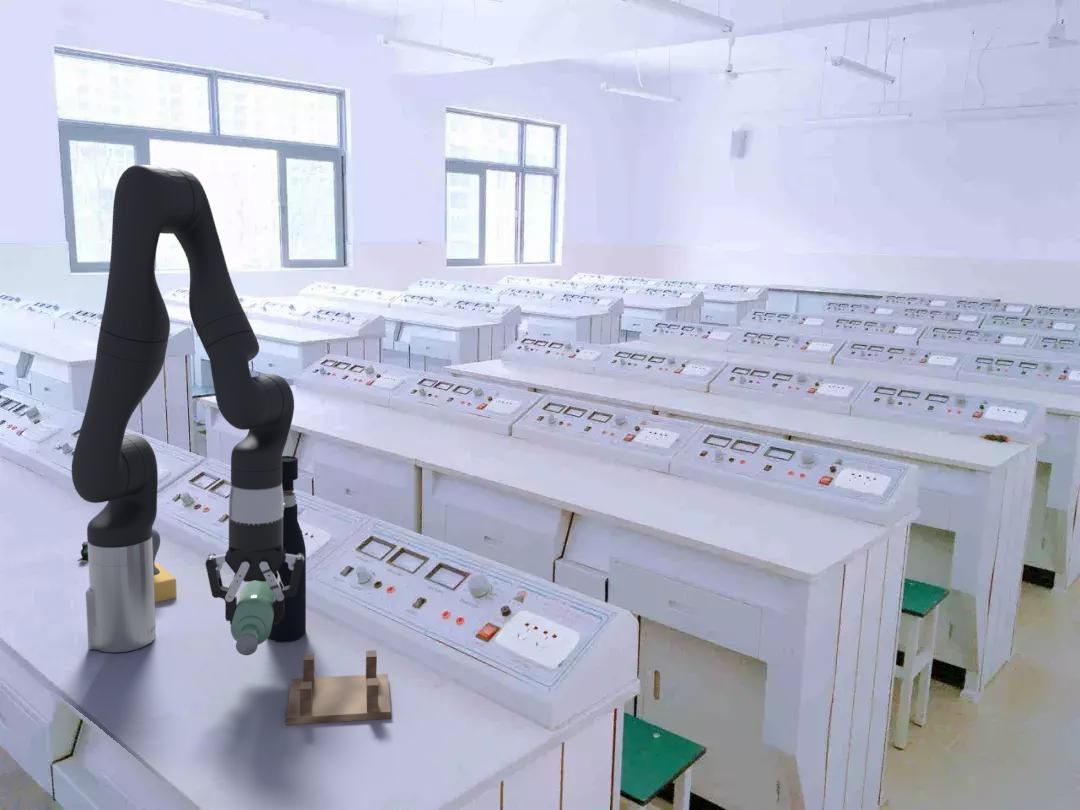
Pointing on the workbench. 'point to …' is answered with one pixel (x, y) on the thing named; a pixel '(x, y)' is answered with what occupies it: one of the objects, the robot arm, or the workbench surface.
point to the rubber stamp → (161, 575)
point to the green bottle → (253, 616)
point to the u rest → (338, 695)
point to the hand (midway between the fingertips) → (255, 621)
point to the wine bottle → (293, 544)
